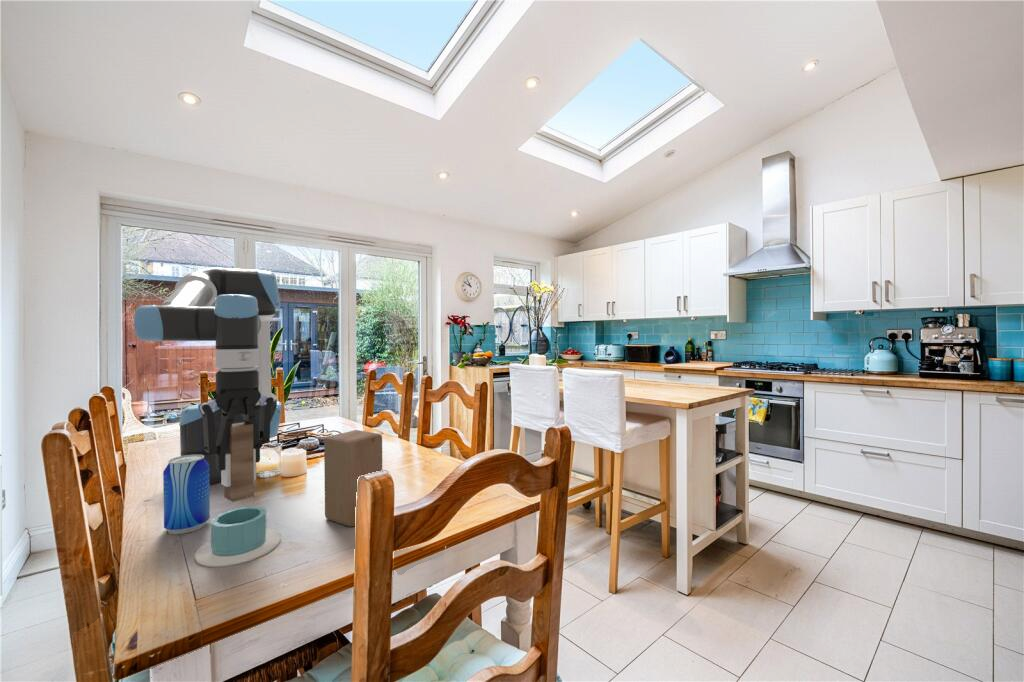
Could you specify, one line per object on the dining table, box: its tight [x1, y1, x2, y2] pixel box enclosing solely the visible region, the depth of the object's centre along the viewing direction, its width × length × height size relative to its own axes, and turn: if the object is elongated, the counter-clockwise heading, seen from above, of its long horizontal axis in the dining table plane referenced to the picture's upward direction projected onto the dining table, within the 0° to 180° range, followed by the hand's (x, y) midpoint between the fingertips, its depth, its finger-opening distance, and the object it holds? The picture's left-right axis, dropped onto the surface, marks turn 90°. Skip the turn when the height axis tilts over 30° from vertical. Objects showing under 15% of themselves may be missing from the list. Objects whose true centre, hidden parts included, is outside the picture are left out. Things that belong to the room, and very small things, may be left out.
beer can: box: [162, 455, 211, 535], centre depth 98 cm, size 8×8×16 cm
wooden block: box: [323, 429, 383, 528], centre depth 104 cm, size 10×10×20 cm
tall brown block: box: [223, 422, 255, 503], centre depth 89 cm, size 4×4×15 cm
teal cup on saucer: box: [194, 506, 281, 568], centre depth 89 cm, size 15×15×7 cm
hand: (238, 481), depth 89 cm, fingers closed on tall brown block, 4 cm apart
